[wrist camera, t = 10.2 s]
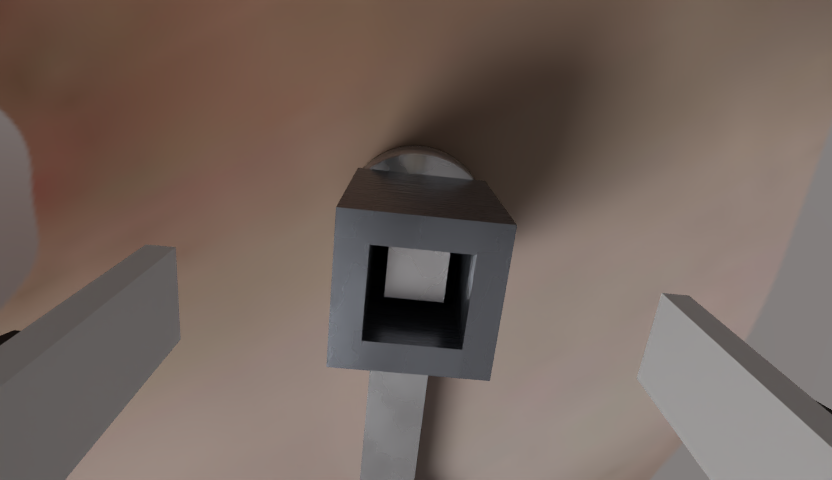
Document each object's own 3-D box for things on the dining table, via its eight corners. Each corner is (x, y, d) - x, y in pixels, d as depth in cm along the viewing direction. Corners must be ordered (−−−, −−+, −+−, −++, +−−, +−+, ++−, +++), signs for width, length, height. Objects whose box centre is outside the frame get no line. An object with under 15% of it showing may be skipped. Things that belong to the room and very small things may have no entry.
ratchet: (351, 138, 25) (324, 165, 17) (492, 153, 25) (529, 186, 17) (320, 590, 34) (294, 740, 26) (424, 597, 34) (428, 747, 26)
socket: (358, 167, 22) (336, 207, 15) (484, 180, 22) (517, 225, 16) (349, 285, 24) (326, 366, 17) (467, 296, 24) (489, 380, 17)
